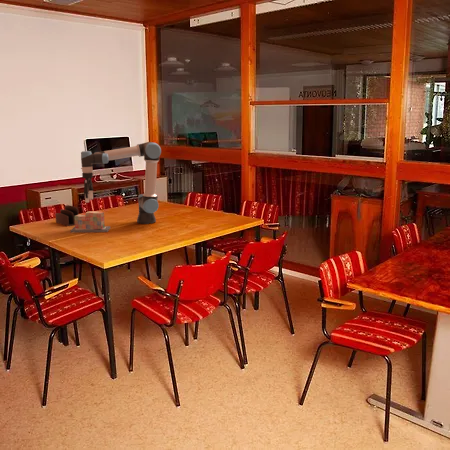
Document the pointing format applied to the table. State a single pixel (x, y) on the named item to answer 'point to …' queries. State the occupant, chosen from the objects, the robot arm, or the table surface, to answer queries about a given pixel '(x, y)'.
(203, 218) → the table surface
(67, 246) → the table surface
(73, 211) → the letter holder
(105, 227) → the base board
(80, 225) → the stack of blocks
